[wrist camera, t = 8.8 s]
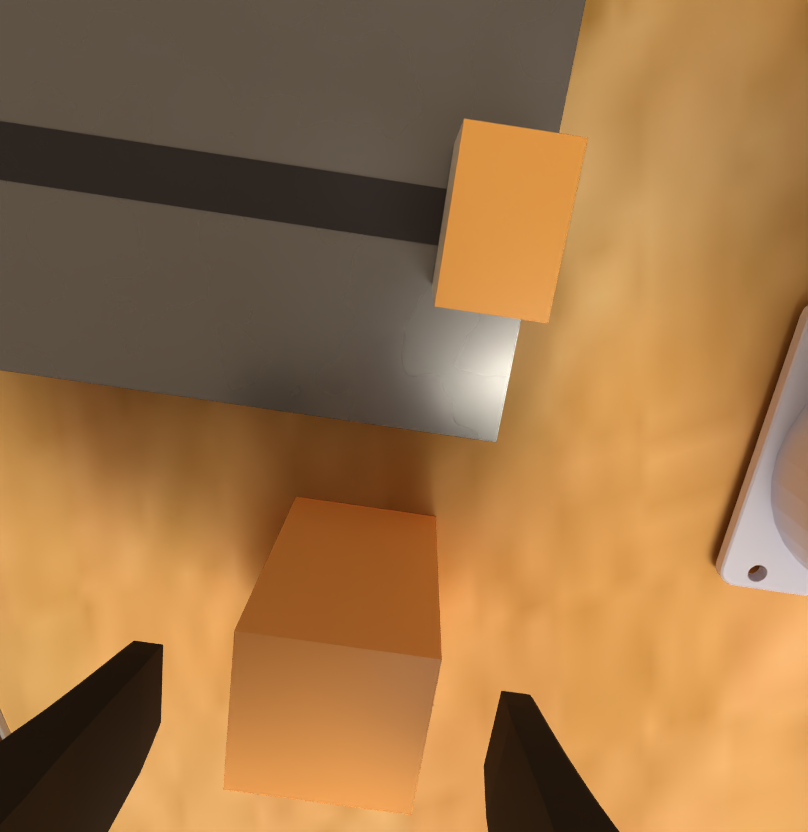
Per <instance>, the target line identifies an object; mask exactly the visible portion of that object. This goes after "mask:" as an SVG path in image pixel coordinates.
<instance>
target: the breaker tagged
mask: <svg viewBox="0 0 808 832" xmlns="http://www.w3.org/2000/svg"><path fill="white" fill-rule="evenodd" d="M587 140H588V138H587V137H581V136H574V135H568V134H561V133H555V132H548V131H542V130H535V129H529V128H522V127H516V126H509V125H503V124H496V123H490V122H483V121H477V120H470V119H464V120H463V123H462V125H461V128H460V130H459V133H458V135H457V138H456V140H455V143H454V148H453V154H452V161H451V167H450V174H449V180H448V186H447V193H446V199H445V206H444V212H443V219H442V225H441V232H440V238H439V244H438V251H437V257H436V264H435V270H434V277H433V283H432V292H433V299H434V307H441V308H448V309H455V310H461V311H468V312H475V313H481V314H488V315H495V316H502V317H508V318H515V319H522V320H528V321H535V322H542V323H548V321H549V316H550V311H551V307H552V302H553V298H554V293H555V288H556V284H557V279H558V274H559V270H560V265H561V260H562V256H563V251H564V247H565V242H566V237H567V233H568V228H569V223H570V219H571V214H572V210H573V205H574V200H575V196H576V191H577V186H578V182H579V177H580V173H581V168H582V163H583V159H584V154H585V149H586V145H587Z"/></svg>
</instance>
